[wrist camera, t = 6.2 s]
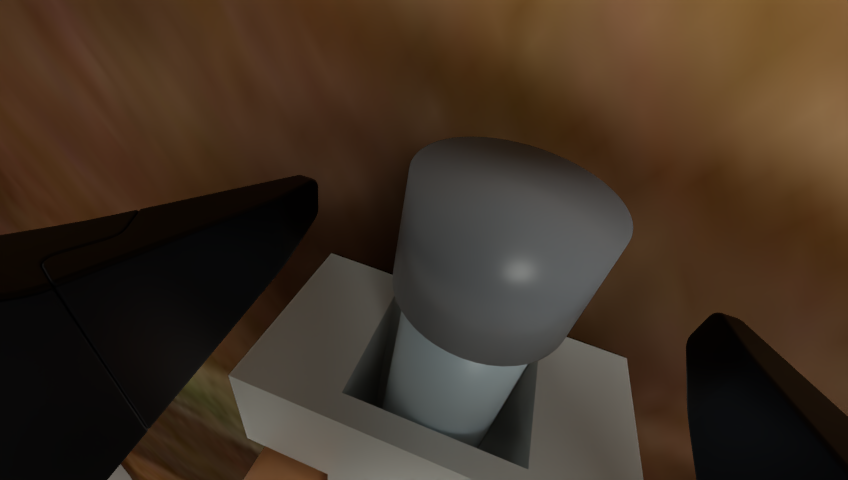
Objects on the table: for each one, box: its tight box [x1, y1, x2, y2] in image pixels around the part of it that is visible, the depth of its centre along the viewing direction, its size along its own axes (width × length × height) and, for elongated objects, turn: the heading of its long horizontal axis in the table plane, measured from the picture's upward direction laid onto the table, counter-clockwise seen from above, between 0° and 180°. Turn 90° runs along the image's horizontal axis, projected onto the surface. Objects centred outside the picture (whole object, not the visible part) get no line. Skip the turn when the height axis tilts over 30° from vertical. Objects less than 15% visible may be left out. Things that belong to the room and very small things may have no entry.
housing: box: [228, 253, 643, 480], centre depth 15 cm, size 10×12×6 cm
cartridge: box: [383, 137, 633, 448], centre depth 13 cm, size 16×5×5 cm, turn 170°
